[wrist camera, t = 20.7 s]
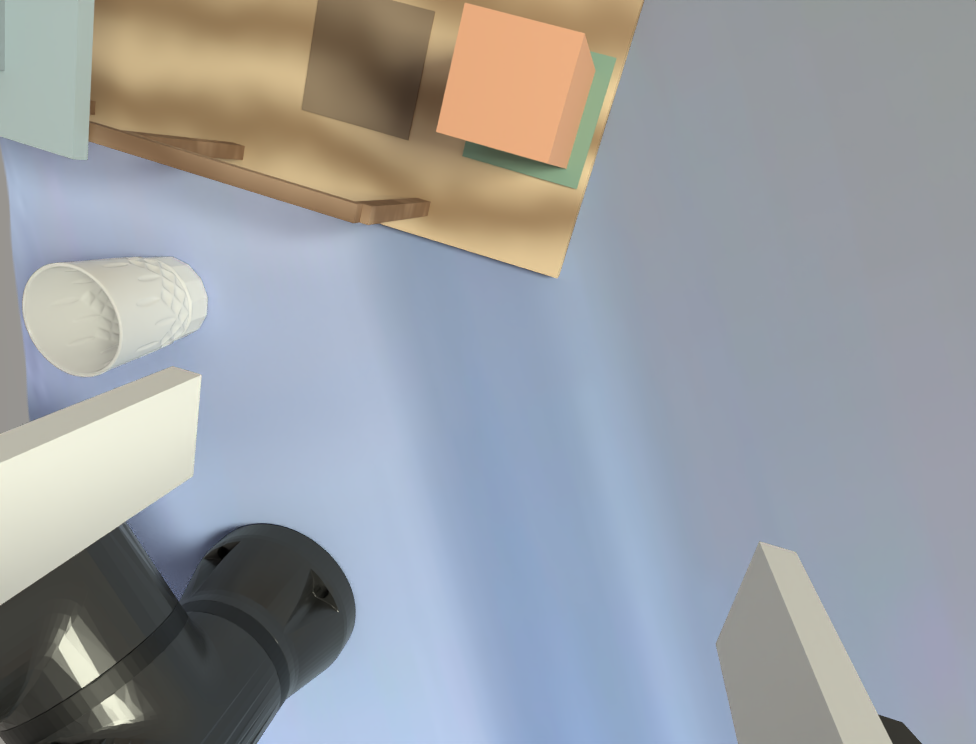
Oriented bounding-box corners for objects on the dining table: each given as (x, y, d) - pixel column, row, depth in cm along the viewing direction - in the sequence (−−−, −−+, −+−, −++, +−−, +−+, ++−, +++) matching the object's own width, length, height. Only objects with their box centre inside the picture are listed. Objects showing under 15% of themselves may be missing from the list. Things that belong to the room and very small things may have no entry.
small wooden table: (559, 275, 44) (533, 309, 32) (95, 133, 49) (-77, 116, 37) (657, -43, 37) (670, -148, 26) (109, -173, 42) (-94, -313, 30)
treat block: (566, 168, 40) (547, 163, 31) (479, 144, 41) (435, 131, 32) (595, 70, 38) (584, 33, 29) (503, 46, 39) (464, 2, 30)
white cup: (131, 239, 51) (18, 251, 41) (217, 260, 49) (121, 277, 40) (131, 330, 53) (24, 361, 44) (213, 353, 52) (122, 389, 43)
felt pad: (576, 189, 41) (576, 189, 41) (463, 156, 42) (462, 156, 42) (616, 58, 38) (616, 57, 38) (494, 26, 39) (493, 25, 39)
